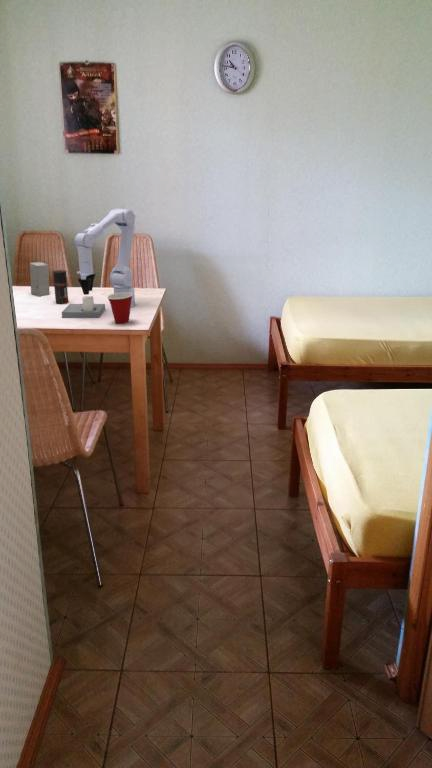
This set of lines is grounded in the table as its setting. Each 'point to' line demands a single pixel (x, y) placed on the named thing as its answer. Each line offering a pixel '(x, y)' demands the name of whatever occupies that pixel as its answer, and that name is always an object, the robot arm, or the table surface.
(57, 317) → the table surface
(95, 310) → the outlet plate
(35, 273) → the skincare box
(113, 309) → the plastic cup
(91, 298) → the beige rectangular block
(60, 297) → the deodorant
